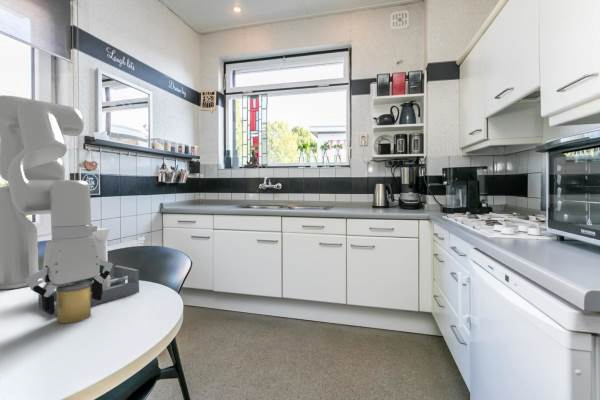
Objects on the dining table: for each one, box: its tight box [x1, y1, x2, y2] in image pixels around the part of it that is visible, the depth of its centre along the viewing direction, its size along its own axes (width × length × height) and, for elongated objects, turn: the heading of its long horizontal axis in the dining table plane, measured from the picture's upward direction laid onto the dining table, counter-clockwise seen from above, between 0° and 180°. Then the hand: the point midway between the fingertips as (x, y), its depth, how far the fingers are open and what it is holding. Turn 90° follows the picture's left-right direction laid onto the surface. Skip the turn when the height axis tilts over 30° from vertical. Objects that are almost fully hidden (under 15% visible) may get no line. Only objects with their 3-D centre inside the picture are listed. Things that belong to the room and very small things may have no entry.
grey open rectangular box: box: [38, 265, 140, 316], centre depth 85 cm, size 11×20×6 cm, turn 149°
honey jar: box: [55, 280, 92, 324], centre depth 72 cm, size 7×7×8 cm
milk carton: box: [87, 227, 111, 282], centre depth 95 cm, size 9×9×20 cm
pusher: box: [92, 273, 128, 289], centre depth 90 cm, size 8×8×6 cm
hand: (74, 305), depth 72 cm, fingers open, 9 cm apart
